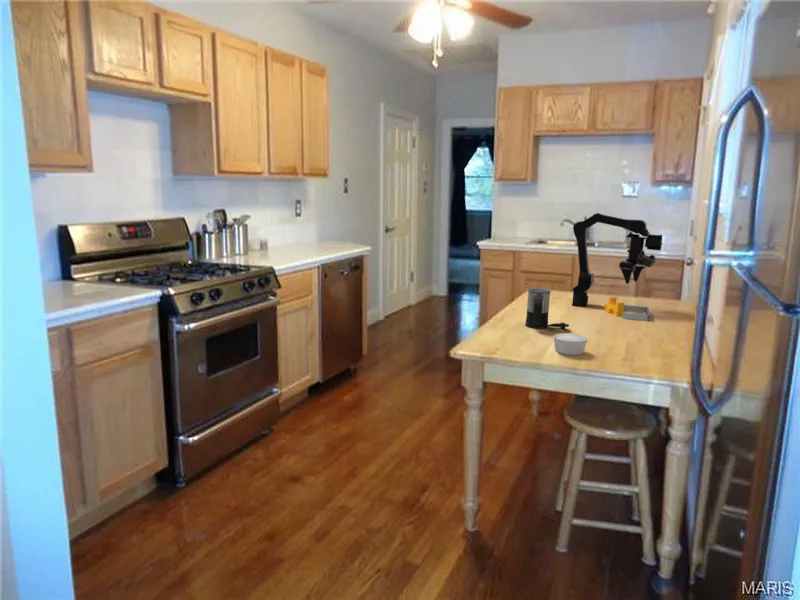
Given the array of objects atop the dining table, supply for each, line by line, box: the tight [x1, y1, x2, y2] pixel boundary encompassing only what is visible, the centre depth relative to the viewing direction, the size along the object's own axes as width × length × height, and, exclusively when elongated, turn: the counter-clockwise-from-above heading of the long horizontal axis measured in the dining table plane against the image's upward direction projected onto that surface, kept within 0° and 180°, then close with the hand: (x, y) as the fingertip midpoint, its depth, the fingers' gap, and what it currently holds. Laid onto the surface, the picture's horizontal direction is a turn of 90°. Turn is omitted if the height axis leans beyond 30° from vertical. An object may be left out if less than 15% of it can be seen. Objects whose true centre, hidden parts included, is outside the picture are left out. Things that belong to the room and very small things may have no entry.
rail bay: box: [621, 304, 651, 322], centre depth 263 cm, size 11×18×2 cm, turn 160°
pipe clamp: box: [603, 296, 625, 317], centre depth 266 cm, size 12×4×6 cm, turn 179°
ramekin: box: [552, 333, 588, 356], centre depth 206 cm, size 11×11×5 cm
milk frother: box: [524, 287, 570, 330], centre depth 237 cm, size 14×16×15 cm
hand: (631, 282), depth 268 cm, fingers open, 9 cm apart
